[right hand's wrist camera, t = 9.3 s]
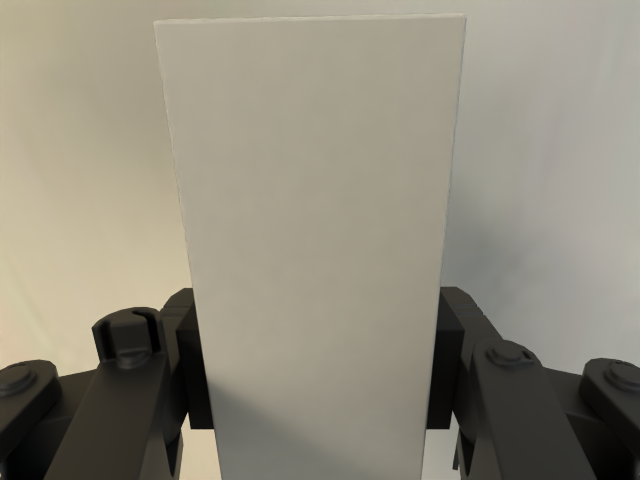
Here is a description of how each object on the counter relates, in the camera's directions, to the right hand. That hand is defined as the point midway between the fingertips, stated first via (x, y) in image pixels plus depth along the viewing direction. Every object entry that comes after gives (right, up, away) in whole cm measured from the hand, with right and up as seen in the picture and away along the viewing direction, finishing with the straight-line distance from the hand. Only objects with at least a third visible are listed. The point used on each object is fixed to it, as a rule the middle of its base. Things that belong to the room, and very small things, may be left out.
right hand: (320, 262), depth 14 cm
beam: (0, -23, +9) cm, 25 cm away
